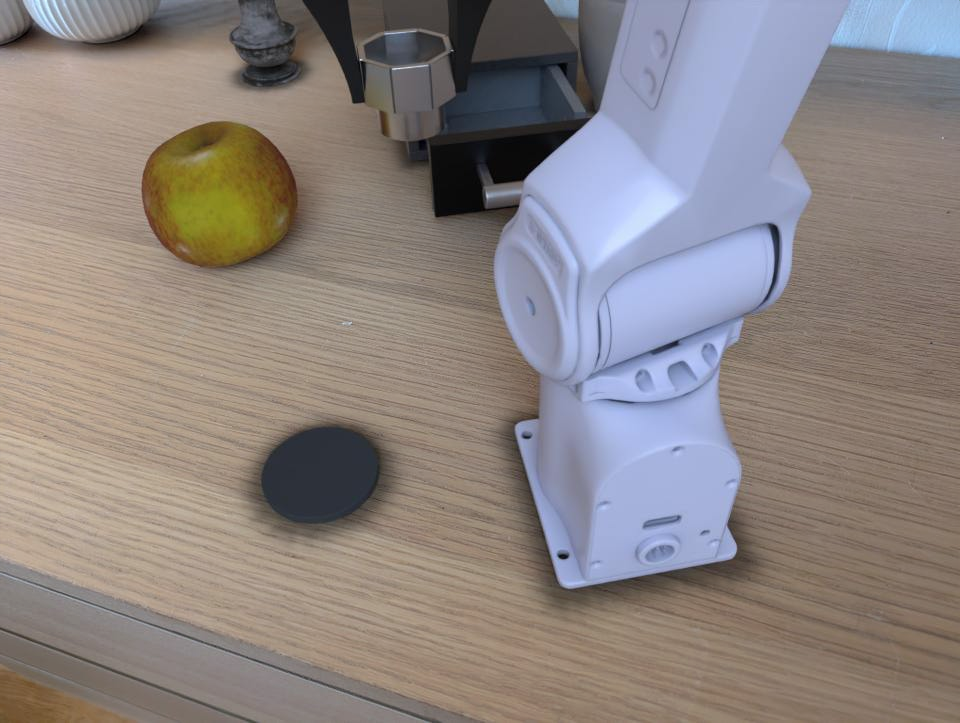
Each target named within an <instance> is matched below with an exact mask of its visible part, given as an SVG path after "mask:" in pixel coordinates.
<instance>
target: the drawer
mask: <svg viewBox="0 0 960 723" xmlns="http://www.w3.org/2000/svg"><path fill="white" fill-rule="evenodd" d="M445 116H446V125H445V127H444V129H443V130H442V131H441V132H440V133H438V134H437V135H435V136H433V137H430V138H427V139H425V142H426V146H427V149H428V154H429V159H428V164H429V165H428V166H429V177H430V180H429V181H430V190H431V192H430V193H431V202H432V203H431V204H432V211H433V214H434V217H435V219H438V218H445V217H453V216H460V215H469V214H475V213H484V212H492V211H498V210H507V209H514V208H515V209H516V208H519V205H520V200H521V195H522V190H523V184H524V180H525V179H526V177H527V176H528V175H529V174H530V173H531V172H532V171H533V170H534V169H535V168H536V167H538V166H539V165H540V164H541V163H542V162H543V161H544V160H545V159H546V158H547V157H548V156H550V155H551V154H552V153H553V152H554V151H555V150H556V149H558V148H559V147H560V146H561V145H562V144H563V143H565V142H566V141H567V140H568V139H569V138H570V137H571V136H573V135H574V134H575V133H576V132H577V131H578V130H580V129H581V128H582V127H583V126H584V125H585V124H586V123H587V122H588V121H589V120H590V119H591V118H593V117H594V116H593V117H587V110H586V108H585V107H584V105H583V103H582V102H581V100H580V99H579V97H578V95H577V93H576V94H575V92H574V90H573V89H572V87H571V85H570V84H569V82H568V81H567V79H566V77H565V76H564V74H563V72H562V71H561V69H560V67H559V66H558V64H550V65H541V66H531V67H522V68H513V69H504V70H494V71H485V72H476V73H469V77H468V86H467V91H466V92H461V93H456V96H455V97H454V98H452V99H451V100H449V101H448V102H446V103H445Z"/></svg>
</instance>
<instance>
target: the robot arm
mask: <svg viewBox="0 0 960 723" xmlns="http://www.w3.org/2000/svg"><path fill="white" fill-rule="evenodd" d="M447 1H448V15H449V38H450V41H451V44H452V46H453V49H454V56H455V93H461V92H466V91H467V86H468V77H469V70H470V65H471V60H472V56H473V52H474V48H475V44H476V41H477V37H478V34H479V31H480V28H481V25H482V23H483V20H484V18H485V15H486V13H487V10H488V8H489V6H490V4H491V1H492V0H447ZM851 1H852V0H626V3H625V7H624V12H623V16H622V20H621V24H620V28H619V32H618V36H617V40H616V44H615V48H614V52H613V56H612V60H611V64H610V68H609V72H608V76H607V81H606V85H605V89H604V93H603V97H602V101H601V105H600V109H599V111H598V112H596V113H595V114H594V115H593V118H592V117H590V118H591V119H590V120H589V121H588V122H587V123H586V124H585V125H584V126H583V127H582V128H581V129H580V130H578V131H577V132H576V133H575V134H574V135H573V136H571V137H570V138H569V139H568V140H567V141H566V142H565V143H563V144H562V145H561V146H560V147H559V148H558V149H556V150H555V151H554V152H553V153H552V154H551V155H550V156H548V157H547V158H546V159H545V160H544V161H543V162H542V163H541V164H540V165H539V166H538V167H536V168H535V169H534V170H533V171H532V172H531V173H530V174H529V175H528V176H527V177H526V179H525V180H524V184H523V190H522V195H521V200H520V205H519V207H517V210H516V212H515V214H514V216H513V217H512V218H511V219H510V220H508V222H506V224H505V225H504V227H503V229H502V230H501V231H500V235H499V238H498V243H497V246H496V248H495V251H494V258H493V280H494V281H493V282H494V288H495V293H496V298H497V303H498V306H499V309H500V312H501V316H502V318H503V320H504V323H505V325H506V329H507V330H508V332H509V335H510V337H511V339H512V341H513V343H514V344H515V346H516V347H517V349H518V351H519V353H520V354H521V355H522V357H523V358H524V360H525V361H526V362H527V363H528V364H529V365H530V366H531V368H532V369H534V370H535V371H536V372H537V373H539V376H540V377H539V400H538V401H539V402H538V418H533V419H526V420H521V421H518V422H517V423H516V424H515V425H514V437H515V439H516V443H517V446H518V449H519V454H520V456H521V460H522V463H523V467H524V471H525V474H526V477H527V480H528V484H529V488H530V491H531V494H532V498H533V501H534V503H535V504H534V505H535V509H536V511H537V516H538V518H539V522H540V525H541V529H542V533H543V536H544V539H545V542H546V545H547V549H548V552H549V556H550V559H551V563H552V566H553V570H554V573H555V576H556V580H557V582H558V584H559V585H560V587H562V588H565V589H567V590H572V589H573V590H574V589H578V588H584V587H589V586H595V585H600V584H605V583H611V582H616V581H623V580H627V579H632V578H636V577H642V576H643V577H644V576H648V575H655V574H660V573H665V572H666V573H667V572H670V571H676V570H681V569H687V568H693V567H698V566H703V565H708V564H714V563H720V562H725V561H730V560H732V559H734V558H735V556H736V555H737V552H738V545H737V543H736V540H735V539H734V536H733V534H732V533H731V530H730V528H729V526H728V522H729V520H730V517H731V513H732V510H733V506H734V503H735V500H736V497H737V494H738V490H739V487H740V484H741V480H742V473H743V469H742V463H741V460H740V457H739V454H738V451H737V450H736V448H735V446H734V444H733V441H732V439H731V437H730V434H729V432H728V430H727V427H726V425H725V420H724V417H723V412H722V408H721V404H720V384H719V382H720V374H721V367H722V366H721V365H722V359H723V357H724V355H725V354H724V353H725V352H726V350H727V349H729V347H730V346H732V345H734V344H736V343H738V342H739V340H740V337H741V333H742V328H743V324H744V321H745V316H748V315H754V314H758V313H760V312H763V311H765V310H767V309H768V308H771V307H772V306H773V305H774V304H775V303H776V302H777V301H778V300H779V299H780V298H781V296H782V295H783V293H784V292H785V290H786V288H787V285H788V283H789V280H790V276H791V272H792V267H793V251H794V240H795V234H796V233H795V232H796V229H797V227H798V223H799V221H800V218H801V216H802V214H803V212H804V210H805V209H806V207H807V205H808V203H809V201H810V200H811V198H812V195H813V192H812V188H811V186H810V185H809V182H808V180H807V179H806V177H805V175H804V173H803V171H802V169H801V168H800V166H799V164H798V162H797V161H796V159H795V157H794V156H793V154H792V153H791V152H790V151H789V149H788V148H787V147H786V146H785V144H783V143H782V142H783V140H784V138H785V135H786V133H787V131H788V129H789V127H790V126H791V123H792V122H793V120H794V117H795V116H796V113H797V112H798V109H799V106H800V105H801V103H802V101H803V99H804V97H805V95H806V93H807V91H808V89H809V86H810V85H811V82H812V81H813V79H814V76H815V74H816V72H817V70H818V69H819V66H820V65H821V62H822V61H823V58H824V57H825V54H826V52H827V50H828V48H829V46H830V44H831V42H832V40H833V38H834V35H835V34H836V31H837V29H838V28H839V25H840V24H841V22H842V20H843V17H844V16H845V13H846V11H847V9H848V8H849V6H850V3H851ZM301 2H302V4H304V6H305V7H306V9H307V11H308V12H309V13H310V14H311V16H312V17H313V19H314V20H315V22H316V23H317V25H318V27H319V29H320V30H321V31H322V33H323V34H324V36H325V38H326V40H327V42H328V43H329V45H330V47H331V49H332V52H333V53H334V55H335V57H336V60H337V62H338V64H339V66H340V69H341V71H342V73H343V76H344V78H345V80H346V84H347V86H348V90H349V93H350V98H351V103H352V104H353V105H358V104H365V97H364V90H363V84H362V79H361V74H360V68H359V62H358V55H357V48H356V45H355V39H354V34H353V28H352V21H351V14H350V13H351V12H350V5H349V0H301ZM525 437H529V438H525ZM560 555H565V556H567V558H565V559H563V558H560V557H559V556H560Z"/></svg>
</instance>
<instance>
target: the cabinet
mask: <svg viewBox="0 0 960 723" xmlns="http://www.w3.org/2000/svg"><path fill="white" fill-rule="evenodd" d="M381 5H382V13H383V14H382V15H383V23H384V31H393V30H403V29H413V28H417V29H419V28H420V29H424V30H428V31H432V32H436V33H440V34H444V35H447V36H449V15H448V1H447V0H381ZM578 61H579V49H578V48H577V47H576V45H575V44H574V42H573V40H571V38H570V36H569V35H568V33H567V32H566V30H565V29H564V28H563V26H562V24H561V23H560V21H559V20H558V18H557V17H556V16H555V14H554V13H553V11H552V10H551V8H550V7H549V5H548V3H547V2H546V0H492V1H491V4H490V6H489V8H488V10H487V13H486V15H485V18H484V20H483V23H482V25H481V28H480V31H479V34H478V37H477V41H476V44H475V48H474V52H473V56H472V60H471V65H470V70H469V73H476V72H485V71H494V70H504V69H513V68H522V67H531V66H541V65H550V64H558V66H559V67H560V69H561V71H562V72H563V74H564V76H565V77H566V79H567V81H568V82H569V84H570V85H571V87H572V89H573V90H574V92H575V94H576V95H577V82H578V81H577V80H578V67H579V66H578V64H579V63H578ZM404 142H405V146H406V149H407V154H408V159H409V161H410V162H416V161H425V160H429V154H428V149H427V146H426V142H425V139H423V140H418V141H404Z"/></svg>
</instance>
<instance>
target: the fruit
mask: <svg viewBox="0 0 960 723" xmlns="http://www.w3.org/2000/svg"><path fill="white" fill-rule="evenodd" d="M141 178H142V179H141V200H142V206H143V210H144V215H145V216H146V219H147V222H148V225H149V227H150V228H151V231H152V232H153V233H154V235H155V237H156V238H157V240H158V241H159V242H160V243H161V245H162V246H163V247H164V248H165V249H166V250H167V251H169V252H170V253H171V254H173V255H174V257H176V258H178V259H179V260H181V261H183V262H185V263H189V264H192V265H195V266H199V267H205V268H206V267H208V268H213V267H214V268H215V267H227V266H231V265H236V264H239V263H242V262H245V261H247V260H249V259H252V258H254V257H256V256H259V255H261V254H262V253H264V252H267V251H268V250H270V249H271V248H273V247H274V246H275V245H276V244H278V243H279V242H280V241H282V239H283V238H284V236H285V235H286V234H287V233H288V232H289V230H290V229H291V226H292V224H293V222H294V220H295V218H296V214H297V210H298V188H297V183H296V179H295V175H294V173H293V171H292V168H291V166H290V165H289V163H288V161H287V159H286V158H285V156H284V155H283V154H282V152H281V151H280V149H279V148H278V147H277V146H276V145H275V144H274V143H273V142H272V140H270V139H269V138H268V137H267V136H266V135H264V134H263V133H261V132H260V131H259V130H257V129H255V128H253V127H251V126H249V125H246V124H245V123H244V124H243V123H240V122H235V121H228V120H218V121H217V120H216V121H209V122H205V123H202V124H199V125H196V126H193V127H191V128H188V129H186V130H184V131H181V132H179V133H178V134H176V135H174V136H172V137H171V138H169V139H167V140H166V141H164V142H163V143H161V144H160V145H158V147H156V148H155V150H154V151H152V153H151V154H150V155H149V157H148V159H147V160H146V163H145V166H144V169H143V172H142V177H141Z"/></svg>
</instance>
